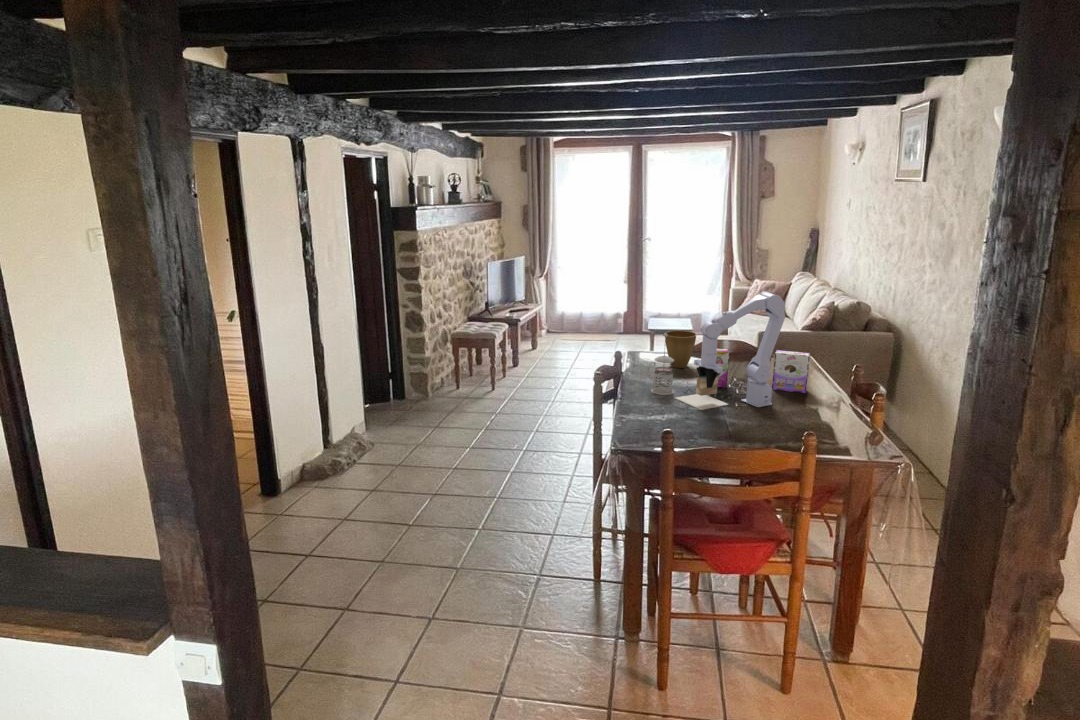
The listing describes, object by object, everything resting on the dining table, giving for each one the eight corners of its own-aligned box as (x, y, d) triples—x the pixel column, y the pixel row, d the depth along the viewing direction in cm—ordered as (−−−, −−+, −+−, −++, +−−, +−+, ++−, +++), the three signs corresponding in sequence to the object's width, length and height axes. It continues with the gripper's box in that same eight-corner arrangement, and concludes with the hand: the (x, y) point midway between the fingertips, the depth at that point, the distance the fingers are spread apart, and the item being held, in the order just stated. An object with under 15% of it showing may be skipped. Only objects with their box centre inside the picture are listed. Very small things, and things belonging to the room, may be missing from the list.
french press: (672, 395, 276) (676, 336, 270) (644, 392, 280) (647, 334, 274) (675, 389, 285) (679, 331, 279) (648, 386, 289) (651, 329, 283)
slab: (716, 393, 266) (718, 376, 265) (700, 395, 263) (702, 378, 261) (711, 391, 269) (713, 374, 267) (695, 393, 265) (697, 376, 264)
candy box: (806, 390, 286) (811, 352, 282) (805, 393, 281) (810, 355, 277) (772, 386, 291) (776, 349, 287) (771, 389, 286) (774, 352, 282)
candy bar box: (700, 387, 288) (703, 350, 284) (699, 384, 293) (701, 347, 289) (727, 388, 287) (730, 351, 283) (725, 385, 292) (728, 348, 288)
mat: (728, 405, 265) (728, 404, 265) (700, 409, 259) (700, 409, 259) (701, 394, 279) (701, 393, 279) (674, 398, 273) (674, 397, 273)
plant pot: (676, 360, 333) (678, 329, 329) (700, 366, 322) (703, 334, 318) (656, 365, 324) (658, 332, 320) (680, 371, 313) (683, 338, 309)
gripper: (688, 349, 266) (686, 382, 270) (713, 358, 254) (710, 392, 257) (702, 348, 269) (700, 380, 273) (728, 356, 257) (725, 390, 260)
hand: (706, 386), depth 265 cm, fingers closed on slab, 3 cm apart
